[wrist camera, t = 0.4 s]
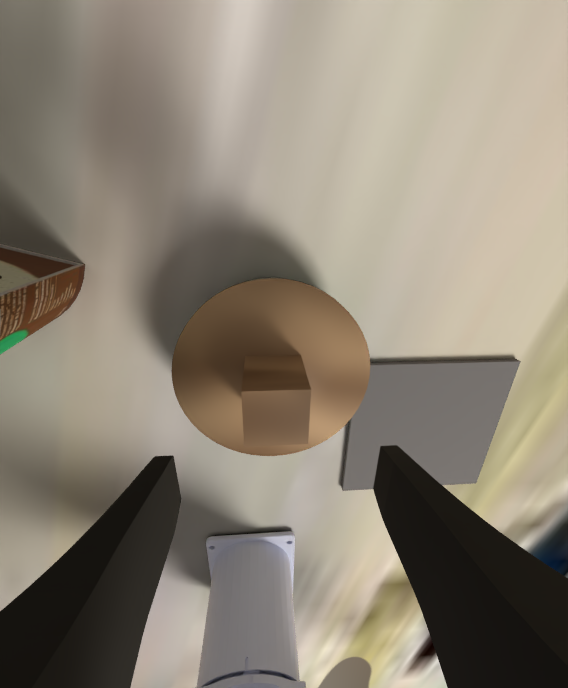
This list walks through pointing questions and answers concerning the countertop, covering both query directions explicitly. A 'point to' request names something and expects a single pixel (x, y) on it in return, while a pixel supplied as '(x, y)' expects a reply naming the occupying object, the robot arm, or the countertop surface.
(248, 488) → the countertop surface
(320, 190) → the countertop surface
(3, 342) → the food container
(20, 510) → the countertop surface
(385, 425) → the mat
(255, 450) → the lid
